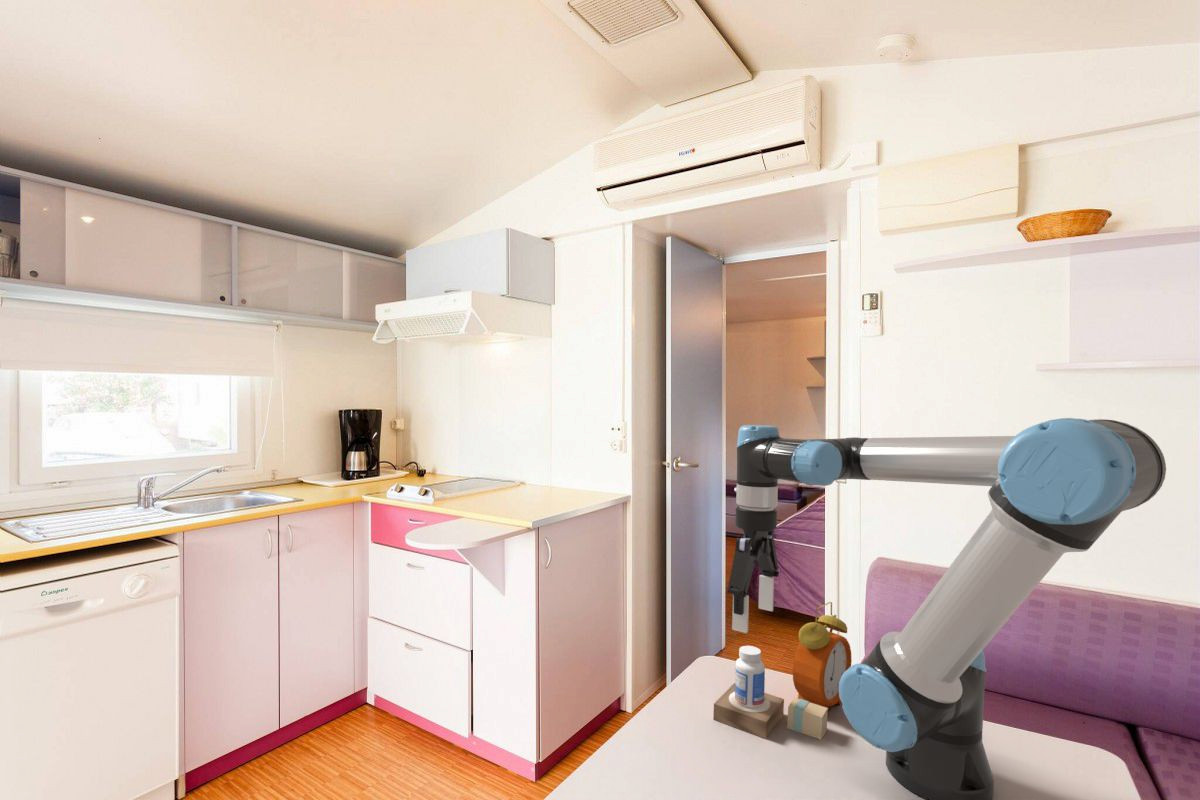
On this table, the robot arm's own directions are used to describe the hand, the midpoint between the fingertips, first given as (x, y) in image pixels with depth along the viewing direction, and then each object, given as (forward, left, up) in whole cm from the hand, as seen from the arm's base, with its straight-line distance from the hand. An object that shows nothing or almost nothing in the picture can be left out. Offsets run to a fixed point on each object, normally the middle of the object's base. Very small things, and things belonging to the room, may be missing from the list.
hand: (753, 619), depth 111 cm
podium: (0, 0, -19) cm, 19 cm away
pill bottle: (0, 0, -16) cm, 16 cm away
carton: (-10, -3, -19) cm, 21 cm away
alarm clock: (-10, -13, -19) cm, 25 cm away
